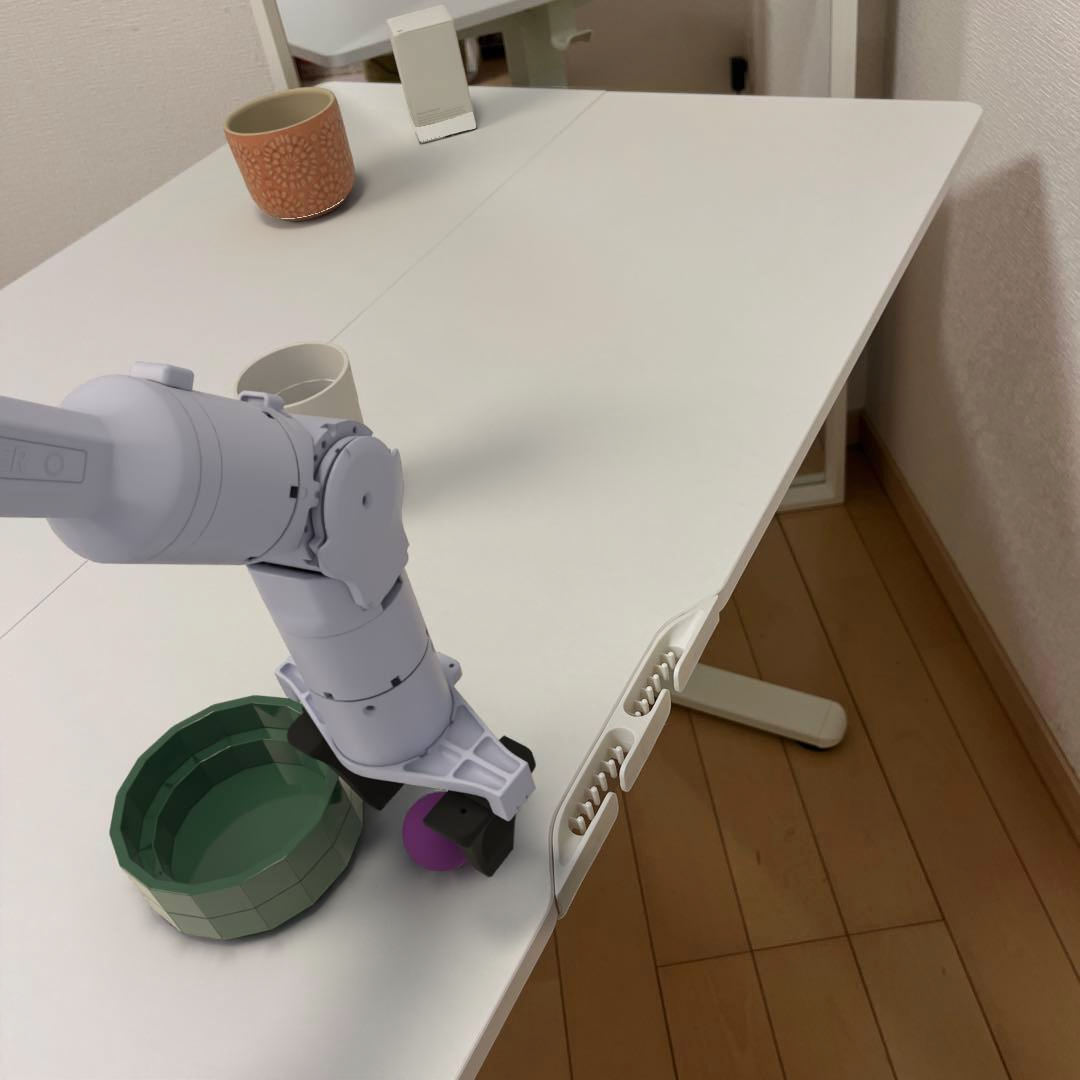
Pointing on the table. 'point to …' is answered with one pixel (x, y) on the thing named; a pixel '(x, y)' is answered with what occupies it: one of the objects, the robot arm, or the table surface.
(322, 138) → the planter
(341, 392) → the cup
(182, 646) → the table surface
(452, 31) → the white packaging box
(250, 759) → the bowl
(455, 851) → the ball
